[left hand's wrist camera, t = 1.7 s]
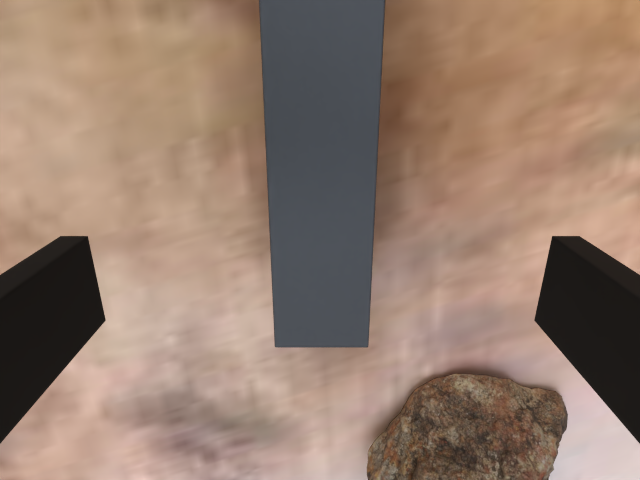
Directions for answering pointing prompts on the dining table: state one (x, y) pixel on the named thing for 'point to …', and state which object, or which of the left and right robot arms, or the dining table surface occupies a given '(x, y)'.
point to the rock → (471, 432)
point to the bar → (321, 164)
